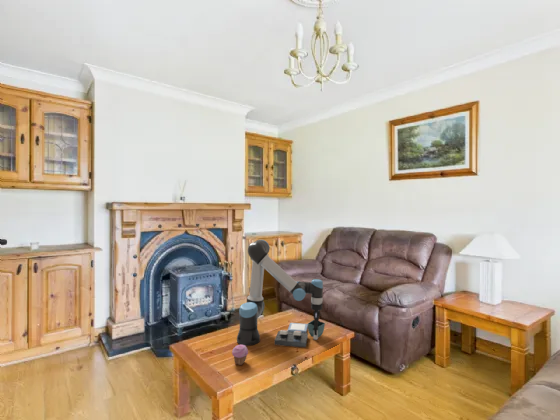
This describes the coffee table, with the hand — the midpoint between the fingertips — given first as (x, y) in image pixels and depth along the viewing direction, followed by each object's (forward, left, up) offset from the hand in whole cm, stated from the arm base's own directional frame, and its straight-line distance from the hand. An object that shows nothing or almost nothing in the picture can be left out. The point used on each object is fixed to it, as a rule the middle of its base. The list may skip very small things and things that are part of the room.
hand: (316, 335), depth 205 cm
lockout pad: (-14, +12, -1) cm, 18 cm away
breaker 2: (-12, -8, +4) cm, 15 cm away
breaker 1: (-21, -8, +4) cm, 22 cm away
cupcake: (-41, -40, -2) cm, 57 cm away
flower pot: (0, 0, -1) cm, 1 cm away
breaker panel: (-16, -8, -1) cm, 18 cm away
